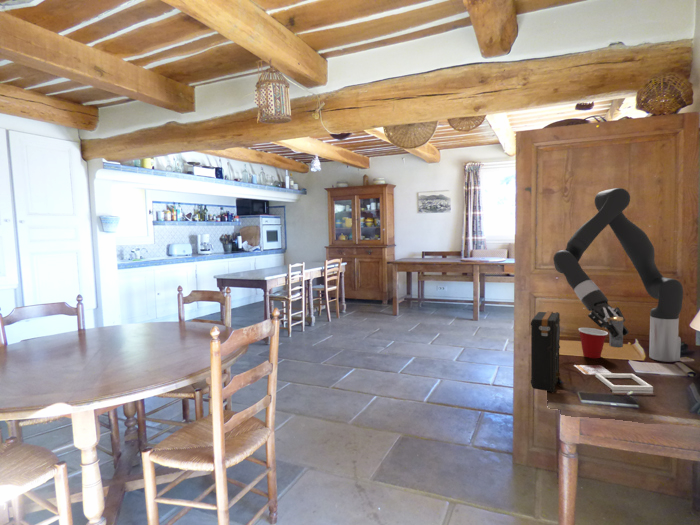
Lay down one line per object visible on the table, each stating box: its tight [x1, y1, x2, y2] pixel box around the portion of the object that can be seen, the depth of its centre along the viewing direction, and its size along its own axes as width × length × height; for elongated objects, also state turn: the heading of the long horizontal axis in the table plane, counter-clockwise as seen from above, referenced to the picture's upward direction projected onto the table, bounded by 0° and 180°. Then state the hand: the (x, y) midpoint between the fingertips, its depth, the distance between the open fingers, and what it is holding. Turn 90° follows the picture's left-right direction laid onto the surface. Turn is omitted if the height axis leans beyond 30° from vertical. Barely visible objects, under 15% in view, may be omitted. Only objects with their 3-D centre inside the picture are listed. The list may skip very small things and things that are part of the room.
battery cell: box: [608, 316, 624, 348], centre depth 145 cm, size 4×4×10 cm
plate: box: [573, 364, 612, 375], centre depth 158 cm, size 10×10×1 cm
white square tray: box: [595, 372, 654, 394], centre depth 144 cm, size 12×12×2 cm
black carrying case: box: [530, 310, 561, 393], centre depth 147 cm, size 16×9×25 cm, turn 148°
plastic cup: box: [577, 327, 609, 359], centre depth 173 cm, size 11×11×12 cm
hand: (621, 334), depth 143 cm, fingers closed on battery cell, 4 cm apart
